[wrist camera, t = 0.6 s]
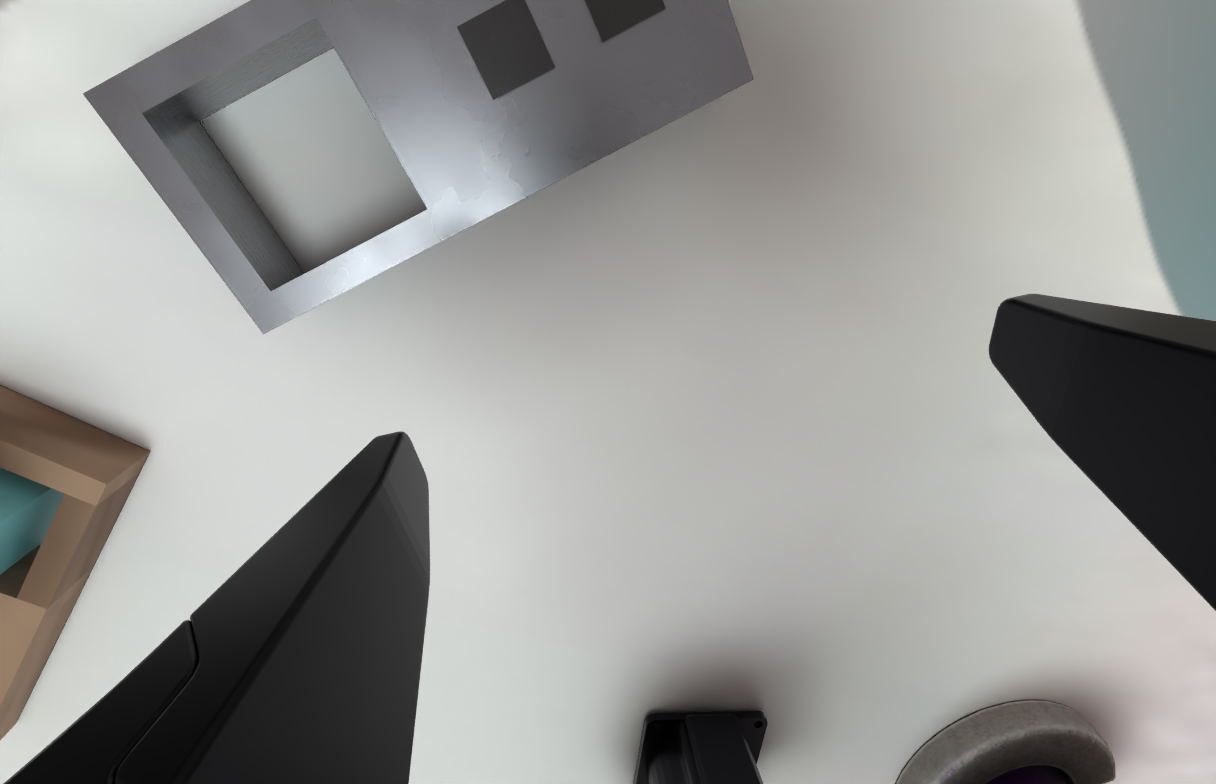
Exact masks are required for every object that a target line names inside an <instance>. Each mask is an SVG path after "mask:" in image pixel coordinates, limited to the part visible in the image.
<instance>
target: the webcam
mask: <svg viewBox="0 0 1216 784" xmlns="http://www.w3.org/2000/svg"><path fill="white" fill-rule="evenodd" d="M1114 779H1115V762H1114V759H1113V755H1112V752H1111V751H1110V749H1109V747H1108V745H1107V744H1106V742H1105V741H1104V739H1103V738H1102V737H1101V736H1100V735H1099V733H1098V732H1097V731H1096V730H1095V729H1094V728H1093V727H1092V726H1091V725H1090V724H1089V723H1088V722H1087V721H1086V720H1085V719H1084V718H1083V717H1082V716H1081V715H1080V714H1079V713H1078V712H1076V711H1074V710H1073V709H1071V708H1069V707H1067V706H1064V705H1061V704H1057V703H1053V702H1049V701H1035V700H1029V701H1018V702H1010V703H1006V704H1002V705H998V706H994V707H990V708H987V709H983V710H981V711H978V712H976V713H974V714H972V715H970V716H968V717H966V718H964V719H962V720H959V721H957V722H956V723H954V724H952V725H951V726H949V727H948V728H946V729H944V730H943V731H941V732H940V733H939V734H937V735H936V736H935V737H934V738H932V739H931V740H930V741H929V742H927V743H926V744H925V745H924V746H923V747H922V748H921V749H920V750H919V751H918V752H917V753H916V754H915V755H914V757H913V758H912V759H911V760H910V761H909V763H908V764H907V766H906V767H905V768H904V770H903V771H902V773H901V775H900V777H899V779H898V781H897V783H896V784H1104V783H1107V782H1110V781H1113V780H1114Z"/></svg>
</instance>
